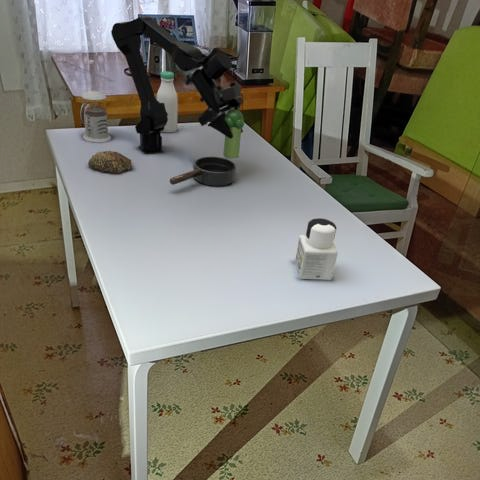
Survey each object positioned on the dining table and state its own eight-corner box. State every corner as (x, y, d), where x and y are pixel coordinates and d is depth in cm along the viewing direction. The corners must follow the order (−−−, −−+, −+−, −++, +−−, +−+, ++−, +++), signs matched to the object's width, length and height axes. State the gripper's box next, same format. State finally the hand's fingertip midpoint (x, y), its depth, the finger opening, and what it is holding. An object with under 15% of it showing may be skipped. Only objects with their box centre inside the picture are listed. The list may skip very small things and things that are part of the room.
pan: (205, 189, 158) (205, 175, 155) (186, 172, 166) (186, 158, 163) (242, 183, 163) (243, 170, 161) (222, 168, 172) (223, 154, 169)
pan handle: (199, 173, 160) (199, 167, 158) (203, 175, 159) (204, 169, 158) (168, 184, 151) (168, 177, 150) (172, 186, 150) (173, 179, 149)
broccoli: (230, 161, 160) (235, 114, 151) (215, 154, 163) (218, 108, 155) (246, 157, 164) (251, 111, 155) (231, 150, 167) (235, 105, 159)
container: (294, 262, 129) (303, 214, 121) (324, 263, 130) (335, 215, 122) (299, 279, 123) (309, 230, 115) (331, 280, 124) (343, 231, 116)
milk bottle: (180, 128, 199) (181, 72, 187) (171, 134, 193) (172, 76, 181) (162, 124, 200) (162, 68, 188) (153, 130, 195) (152, 72, 182)
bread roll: (82, 167, 162) (81, 151, 159) (108, 156, 171) (107, 140, 168) (116, 177, 158) (115, 161, 155) (140, 166, 167) (140, 150, 164)
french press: (117, 136, 186) (113, 60, 171) (96, 145, 177) (90, 66, 162) (94, 130, 189) (88, 54, 173) (73, 139, 180) (65, 60, 165)
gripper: (210, 78, 143) (241, 128, 147) (241, 67, 157) (269, 113, 160) (184, 101, 151) (215, 148, 154) (216, 89, 164) (243, 133, 168)
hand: (236, 135), depth 159 cm, fingers closed on broccoli, 6 cm apart
